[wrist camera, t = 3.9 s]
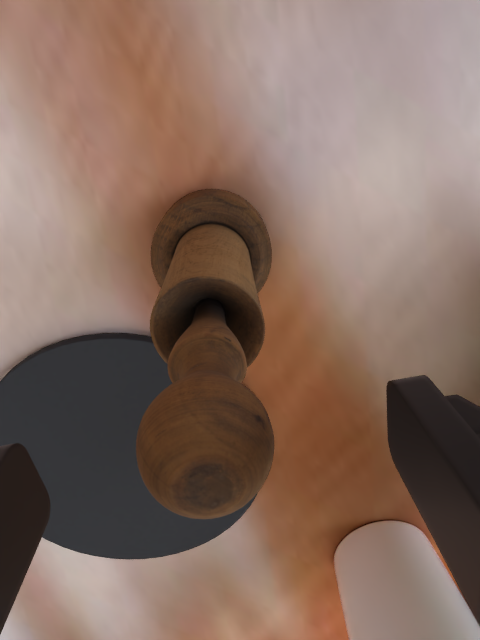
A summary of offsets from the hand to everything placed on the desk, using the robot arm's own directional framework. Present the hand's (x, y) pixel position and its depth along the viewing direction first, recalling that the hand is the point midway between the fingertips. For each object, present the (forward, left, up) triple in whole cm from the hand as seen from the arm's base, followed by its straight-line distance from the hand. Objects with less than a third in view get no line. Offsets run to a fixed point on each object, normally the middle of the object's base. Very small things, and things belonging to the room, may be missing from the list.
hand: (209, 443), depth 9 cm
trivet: (-9, -14, -17) cm, 24 cm away
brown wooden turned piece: (0, 0, -17) cm, 17 cm away
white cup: (+9, -29, -17) cm, 35 cm away
